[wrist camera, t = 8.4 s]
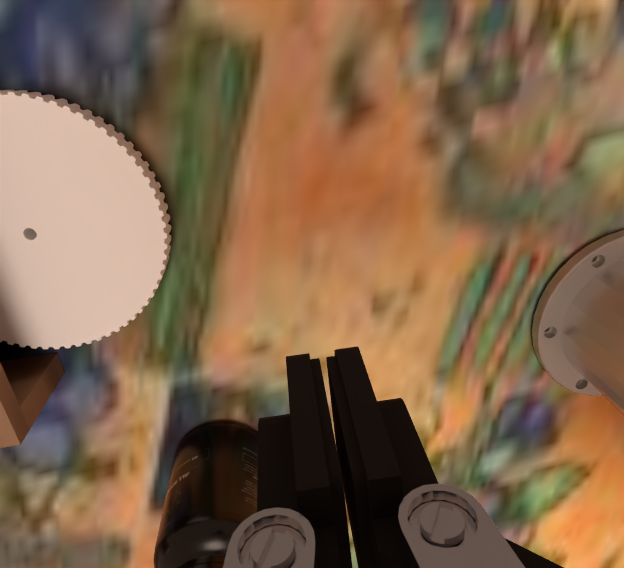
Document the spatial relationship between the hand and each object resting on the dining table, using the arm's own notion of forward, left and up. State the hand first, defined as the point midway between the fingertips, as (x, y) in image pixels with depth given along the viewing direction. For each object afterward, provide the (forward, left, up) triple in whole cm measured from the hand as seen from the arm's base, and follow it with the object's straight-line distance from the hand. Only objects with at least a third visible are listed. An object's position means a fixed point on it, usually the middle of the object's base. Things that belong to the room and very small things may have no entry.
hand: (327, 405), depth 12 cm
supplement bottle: (+7, +18, -20) cm, 28 cm away
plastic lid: (+13, -1, -20) cm, 24 cm away
